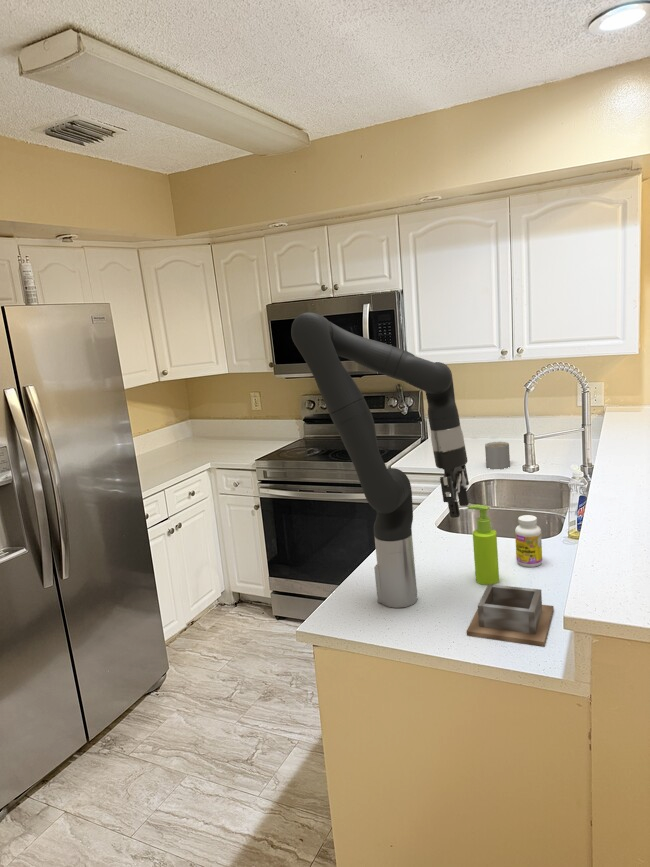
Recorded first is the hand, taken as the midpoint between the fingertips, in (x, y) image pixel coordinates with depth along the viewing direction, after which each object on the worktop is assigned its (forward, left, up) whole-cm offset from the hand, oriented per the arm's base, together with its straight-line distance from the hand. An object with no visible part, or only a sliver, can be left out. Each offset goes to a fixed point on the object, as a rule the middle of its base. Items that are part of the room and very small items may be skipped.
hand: (460, 511), depth 145 cm
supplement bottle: (+12, +23, -22) cm, 34 cm away
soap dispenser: (+3, +10, -22) cm, 24 cm away
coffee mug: (-16, +123, -22) cm, 126 cm away
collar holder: (+13, -10, -22) cm, 27 cm away
